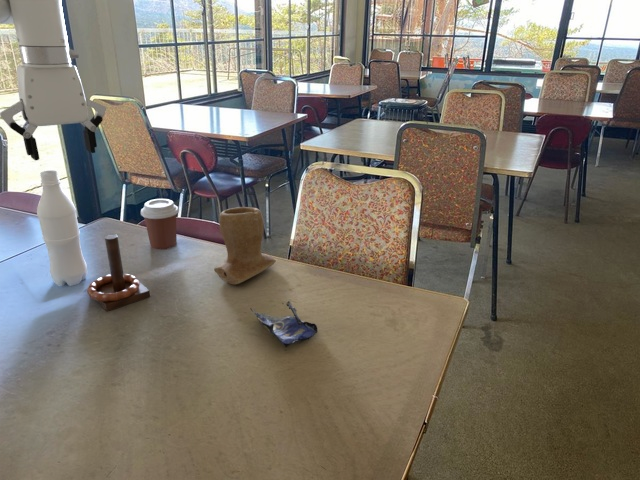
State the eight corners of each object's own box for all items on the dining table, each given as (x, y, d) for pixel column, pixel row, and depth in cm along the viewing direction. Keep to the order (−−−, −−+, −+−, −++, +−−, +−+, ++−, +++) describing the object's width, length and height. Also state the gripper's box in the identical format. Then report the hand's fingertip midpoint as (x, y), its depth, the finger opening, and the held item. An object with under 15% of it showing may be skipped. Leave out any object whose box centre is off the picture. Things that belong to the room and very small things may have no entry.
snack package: (303, 311, 98) (247, 318, 94) (306, 286, 95) (248, 293, 91) (322, 353, 89) (260, 363, 85) (326, 327, 85) (261, 337, 81)
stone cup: (245, 253, 122) (243, 197, 116) (282, 266, 116) (281, 207, 110) (200, 275, 110) (195, 214, 104) (238, 291, 104) (235, 227, 98)
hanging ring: (98, 308, 94) (96, 301, 93) (81, 288, 101) (80, 281, 100) (147, 292, 100) (146, 285, 99) (128, 274, 107) (127, 268, 106)
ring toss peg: (107, 311, 96) (96, 250, 90) (91, 294, 102) (79, 235, 96) (150, 296, 101) (142, 238, 96) (132, 280, 107) (124, 225, 102)
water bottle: (96, 280, 107) (76, 171, 97) (66, 293, 102) (41, 179, 91) (76, 271, 110) (54, 165, 100) (46, 284, 105) (20, 173, 95)
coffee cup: (189, 242, 127) (185, 199, 122) (169, 256, 119) (164, 211, 114) (159, 237, 129) (154, 195, 124) (137, 251, 121) (131, 206, 116)
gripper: (90, 55, 91) (104, 145, 98) (-18, 56, 80) (6, 157, 87) (105, 58, 86) (118, 153, 92) (-9, 59, 75) (16, 166, 82)
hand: (64, 155), depth 90 cm, fingers open, 9 cm apart
